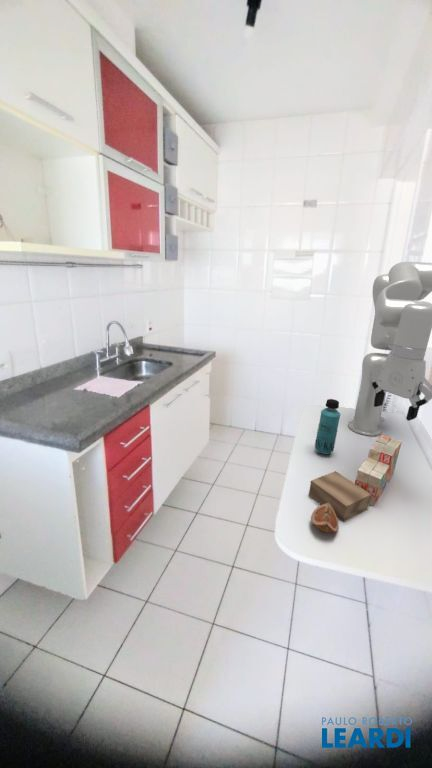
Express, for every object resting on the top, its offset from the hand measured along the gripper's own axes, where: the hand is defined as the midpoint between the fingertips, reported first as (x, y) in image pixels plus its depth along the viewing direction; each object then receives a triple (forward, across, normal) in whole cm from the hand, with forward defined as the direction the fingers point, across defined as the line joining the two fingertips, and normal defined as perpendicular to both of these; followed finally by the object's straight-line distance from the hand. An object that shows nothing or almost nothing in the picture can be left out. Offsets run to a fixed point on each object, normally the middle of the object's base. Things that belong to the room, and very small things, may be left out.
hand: (393, 412), depth 95 cm
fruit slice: (+24, +5, -28) cm, 37 cm away
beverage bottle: (+24, -20, 0) cm, 32 cm away
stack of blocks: (+25, 0, 0) cm, 25 cm away
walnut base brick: (+24, 0, -17) cm, 29 cm away
